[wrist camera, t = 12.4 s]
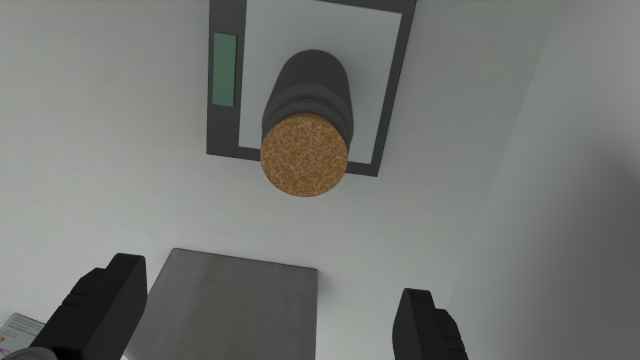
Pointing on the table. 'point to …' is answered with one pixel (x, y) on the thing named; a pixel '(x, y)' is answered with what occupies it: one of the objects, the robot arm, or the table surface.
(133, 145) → the table surface
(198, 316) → the planter
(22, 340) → the ink box
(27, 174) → the table surface
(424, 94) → the table surface
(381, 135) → the scale
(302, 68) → the bottle
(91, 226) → the table surface
